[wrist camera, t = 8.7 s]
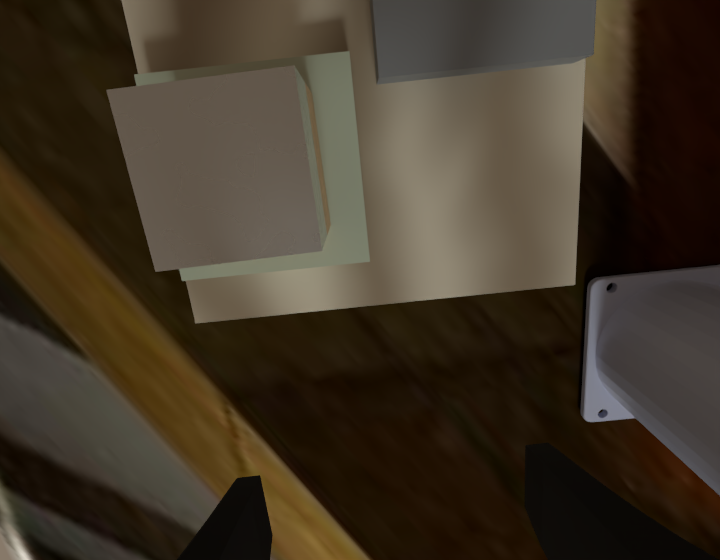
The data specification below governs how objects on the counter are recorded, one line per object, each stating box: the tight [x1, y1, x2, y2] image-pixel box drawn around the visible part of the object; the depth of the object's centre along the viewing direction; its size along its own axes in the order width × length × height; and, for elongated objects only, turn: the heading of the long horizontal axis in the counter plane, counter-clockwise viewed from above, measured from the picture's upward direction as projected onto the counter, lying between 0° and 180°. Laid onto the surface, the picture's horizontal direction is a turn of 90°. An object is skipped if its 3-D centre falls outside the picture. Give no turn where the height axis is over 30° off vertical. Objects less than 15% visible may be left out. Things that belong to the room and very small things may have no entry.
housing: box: [107, 65, 331, 272], centre depth 14 cm, size 5×5×5 cm
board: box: [122, 0, 586, 323], centre depth 18 cm, size 18×18×1 cm
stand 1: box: [134, 51, 370, 281], centre depth 17 cm, size 8×8×2 cm
